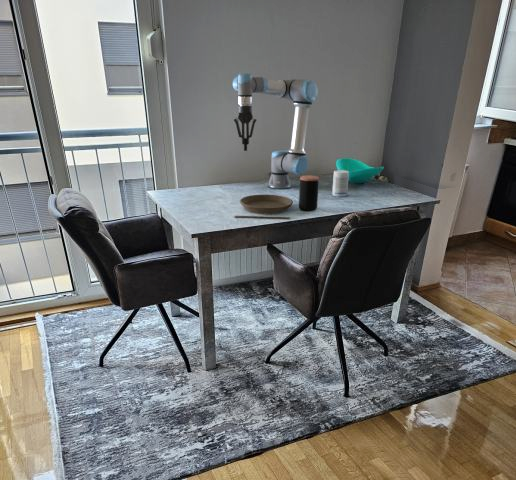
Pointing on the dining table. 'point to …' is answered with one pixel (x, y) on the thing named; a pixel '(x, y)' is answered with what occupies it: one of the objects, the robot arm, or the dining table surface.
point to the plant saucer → (266, 204)
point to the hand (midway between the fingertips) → (245, 150)
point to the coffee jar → (308, 193)
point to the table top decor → (357, 170)
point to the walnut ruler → (261, 217)
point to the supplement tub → (340, 183)
